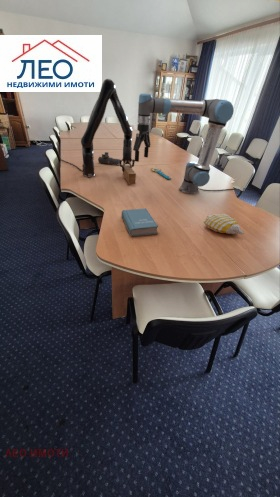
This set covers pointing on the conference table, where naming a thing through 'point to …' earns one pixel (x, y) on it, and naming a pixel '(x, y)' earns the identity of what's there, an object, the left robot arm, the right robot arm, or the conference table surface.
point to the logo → (160, 173)
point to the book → (139, 222)
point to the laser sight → (108, 159)
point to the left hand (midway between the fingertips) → (126, 171)
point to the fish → (223, 224)
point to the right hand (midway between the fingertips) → (141, 159)
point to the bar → (129, 174)
